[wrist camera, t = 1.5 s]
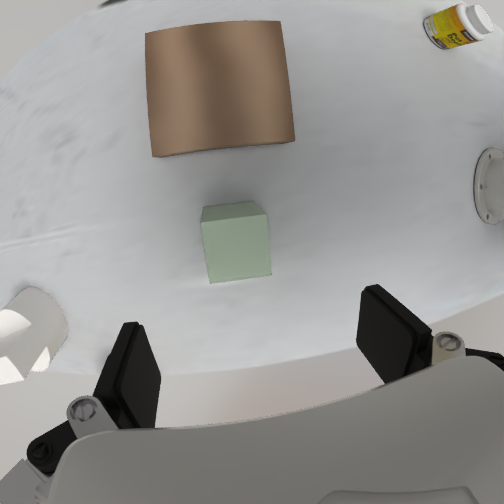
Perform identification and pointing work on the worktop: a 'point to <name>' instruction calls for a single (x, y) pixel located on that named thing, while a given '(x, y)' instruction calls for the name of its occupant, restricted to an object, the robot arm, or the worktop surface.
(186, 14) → the worktop surface
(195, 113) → the walnut base
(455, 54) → the worktop surface
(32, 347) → the base with upright slab
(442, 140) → the worktop surface
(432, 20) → the supplement bottle
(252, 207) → the sage block
